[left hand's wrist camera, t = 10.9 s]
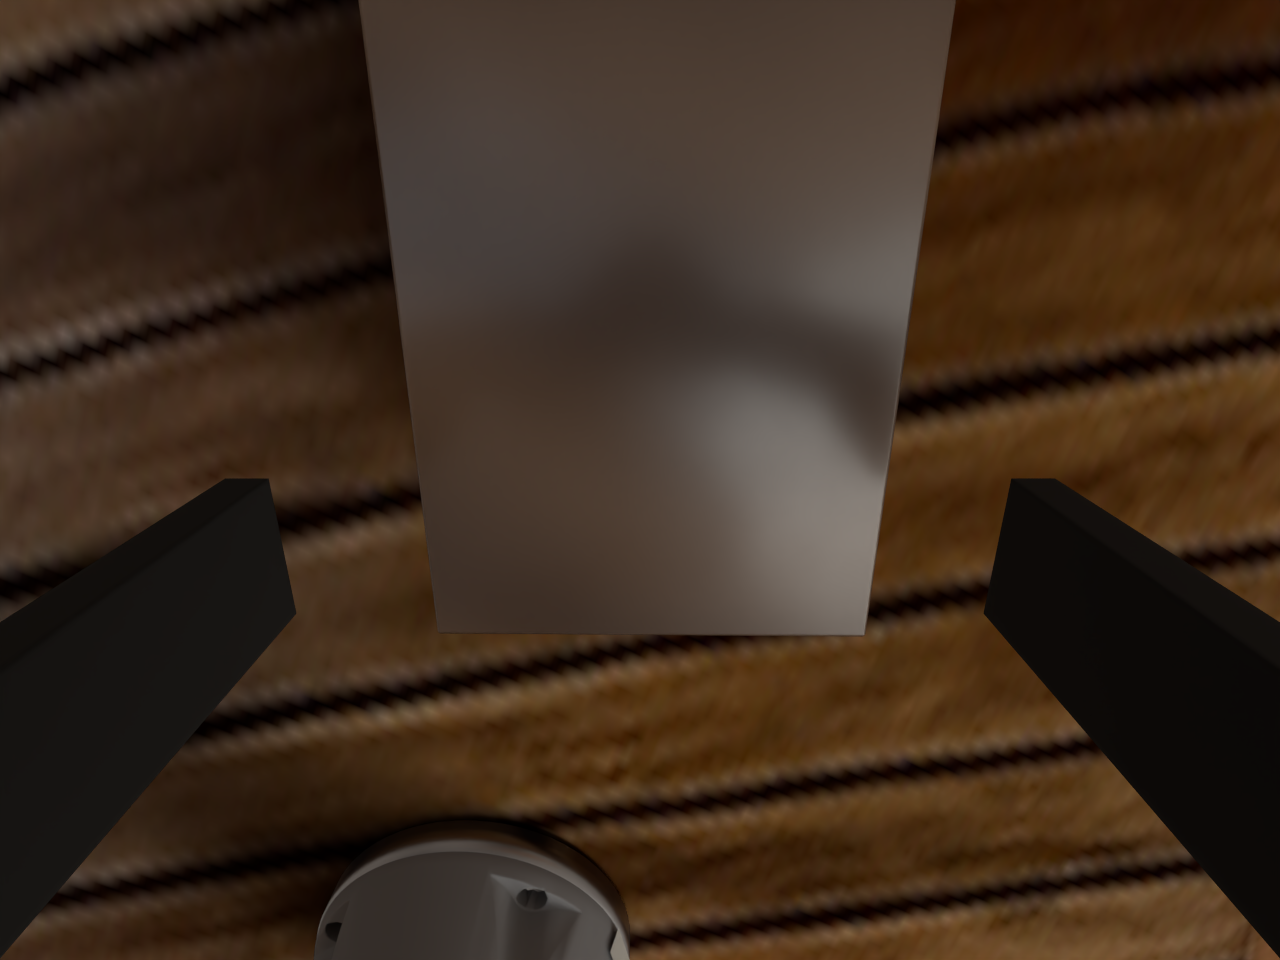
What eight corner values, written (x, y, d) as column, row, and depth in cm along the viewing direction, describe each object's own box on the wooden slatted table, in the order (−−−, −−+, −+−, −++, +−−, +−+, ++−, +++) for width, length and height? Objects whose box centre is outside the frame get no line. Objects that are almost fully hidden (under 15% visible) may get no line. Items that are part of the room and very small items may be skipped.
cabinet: (468, -80, 20) (316, -317, 11) (840, -80, 20) (1004, -322, 11) (509, 486, 26) (437, 634, 17) (790, 487, 26) (865, 638, 17)
